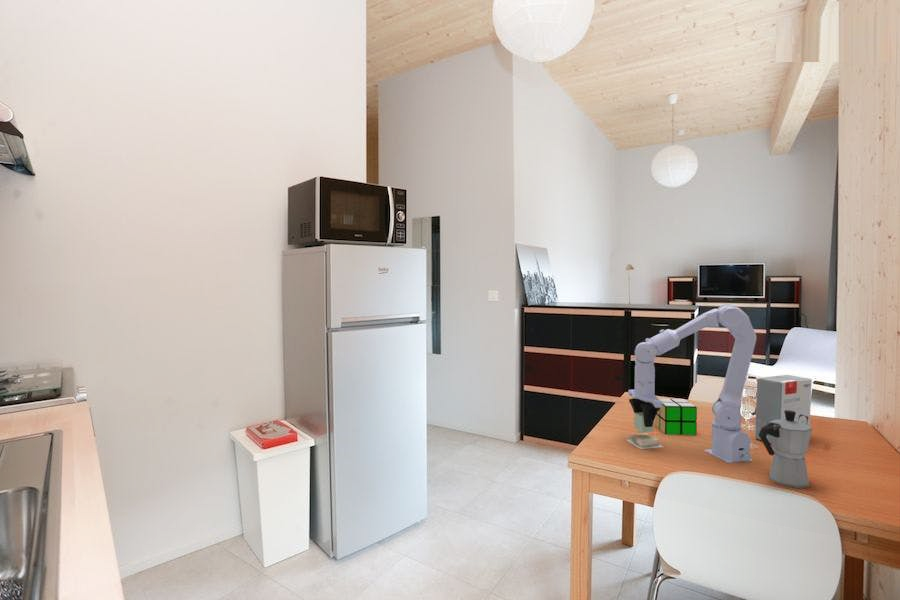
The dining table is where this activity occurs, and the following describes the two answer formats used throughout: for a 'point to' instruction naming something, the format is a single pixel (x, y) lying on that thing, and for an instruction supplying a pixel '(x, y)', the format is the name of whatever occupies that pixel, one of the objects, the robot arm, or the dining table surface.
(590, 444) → the dining table surface
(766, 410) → the hard drive box
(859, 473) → the dining table surface
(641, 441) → the base block
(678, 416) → the puzzle cube
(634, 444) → the building mat
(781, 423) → the coffee maker
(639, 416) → the green block
